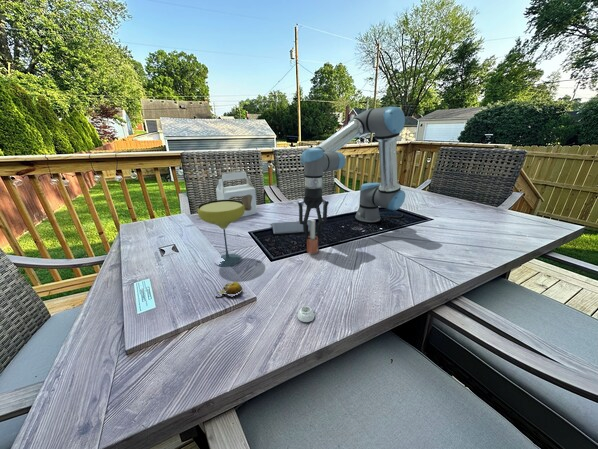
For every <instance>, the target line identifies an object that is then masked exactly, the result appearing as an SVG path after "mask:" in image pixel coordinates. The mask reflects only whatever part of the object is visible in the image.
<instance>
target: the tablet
mask: <svg viewBox="0 0 598 449" xmlns="http://www.w3.org/2000/svg"><path fill="white" fill-rule="evenodd" d="M307 224H308V234H310V220H308V221H307ZM271 227H272V233H273V234H272V235H273V236H285V235H299V234H305V232H304V230H303V224H300V222H299V220H298V221H297V220H296V221H282V222H281V221H279V222H271Z"/></svg>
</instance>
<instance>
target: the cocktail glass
mask: <svg viewBox="0 0 598 449" xmlns="http://www.w3.org/2000/svg"><path fill="white" fill-rule="evenodd" d="M244 212H245V207H244V204H243V201H240V200H237V199H229V200H217V199H216V200H210V201H207V202H203V203H201V204H199V205H198V206H197V215H198V216H197V217H199V219H200V220H202V221H203V222H205V223H208V224H211V225H215V226H218V227H219V228H220V229H222V230H223V238H224V246H225V247H224V248H225V254H223V255H220V256H221V258H223V259H224V260H225V261H222V262H220V263H221V264H219V266H218V267H221V268H222V267H223V268H228V267H232V266H235V265H237V264H239V263H240V262H241V260H242V259H241V256H240V255H238V254H235V253H229V250H228V244H227V235H226V229H227V228H228V227H229V225H230V224H232V223H235V222H236V221H238V220H239V219H241V218H242V217H241V216H242V215H243V214H244Z"/></svg>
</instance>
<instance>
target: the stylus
mask: <svg viewBox="0 0 598 449" xmlns="http://www.w3.org/2000/svg"><path fill="white" fill-rule="evenodd" d="M309 221H310V233H309V236H310V240H315V236H316V219H310V220H309Z"/></svg>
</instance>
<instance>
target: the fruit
mask: <svg viewBox="0 0 598 449" xmlns="http://www.w3.org/2000/svg"><path fill="white" fill-rule="evenodd" d="M241 290H242V291H243V286H242V285H241V284H240V283H239V282H237V281H233V282H228V283H226V284H225V285H224V286H223V289H221V290H220V291H219V292H218V293H217V294H224V293H225V291H226V293H227V294H236V293H238V292H240V291H241ZM240 295H241V293H240V294H238V295H235V296H233V297H234V298H233V297H232V298H231V299H235V298H238V297H239V296H240Z"/></svg>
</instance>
